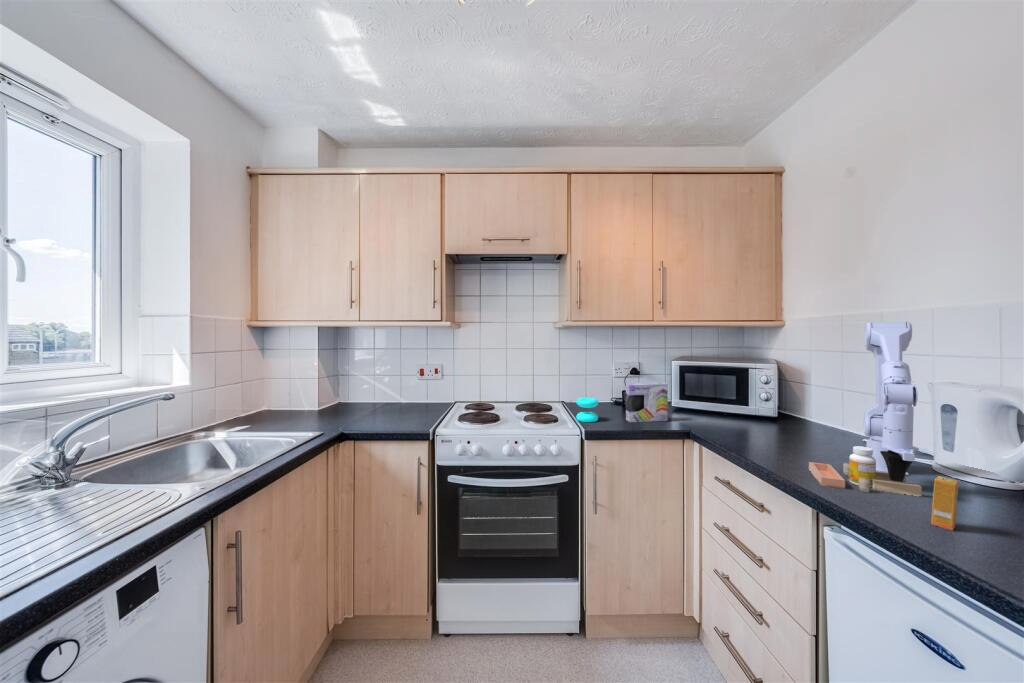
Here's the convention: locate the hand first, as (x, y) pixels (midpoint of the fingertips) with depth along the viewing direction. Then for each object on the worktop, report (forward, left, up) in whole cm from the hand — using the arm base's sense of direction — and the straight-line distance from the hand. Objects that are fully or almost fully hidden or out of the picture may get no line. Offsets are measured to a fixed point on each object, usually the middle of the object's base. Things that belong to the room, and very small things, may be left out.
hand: (896, 480), depth 104 cm
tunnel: (0, -3, -2) cm, 4 cm away
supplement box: (+23, 0, -2) cm, 23 cm away
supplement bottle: (0, -7, -2) cm, 7 cm away
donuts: (-42, -94, -2) cm, 103 cm away
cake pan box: (-53, -70, -2) cm, 88 cm away
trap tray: (0, -15, -2) cm, 15 cm away
